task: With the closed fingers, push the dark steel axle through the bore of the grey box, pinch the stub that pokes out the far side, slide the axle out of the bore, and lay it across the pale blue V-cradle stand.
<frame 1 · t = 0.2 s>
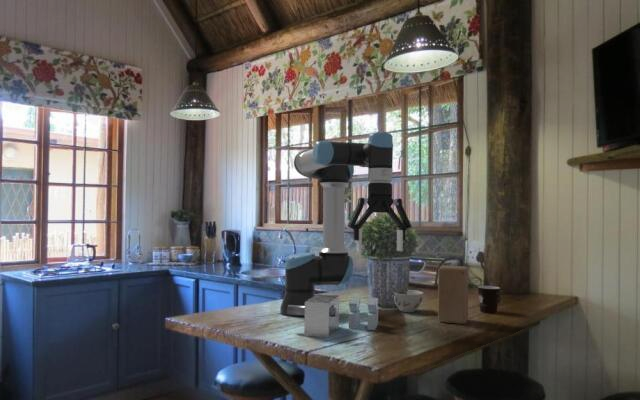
hand: (379, 251, 158), 28 cm above the table, tool pointing down, fingers open, 13 cm apart
v stand: (368, 326, 177), on the table
coffee mug: (489, 313, 206), on the table
wooden block: (453, 321, 189), on the table
teacup: (409, 311, 208), on the table
axle: (311, 315, 168), point 6 cm above the table, touching grey box
grey box: (320, 333, 167), on the table
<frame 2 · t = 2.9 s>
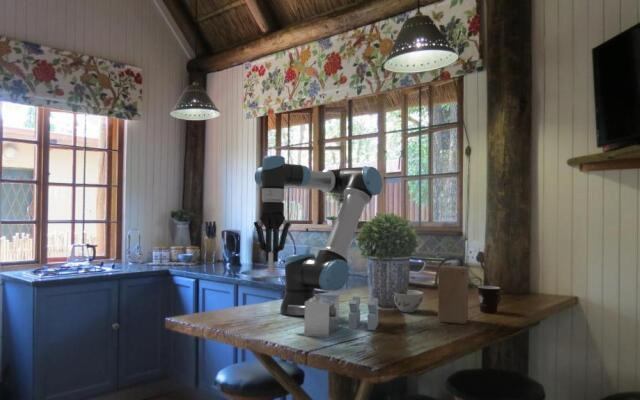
hand: (271, 271, 171), 19 cm above the table, tool pointing down, fingers closed
nothing on the table moved.
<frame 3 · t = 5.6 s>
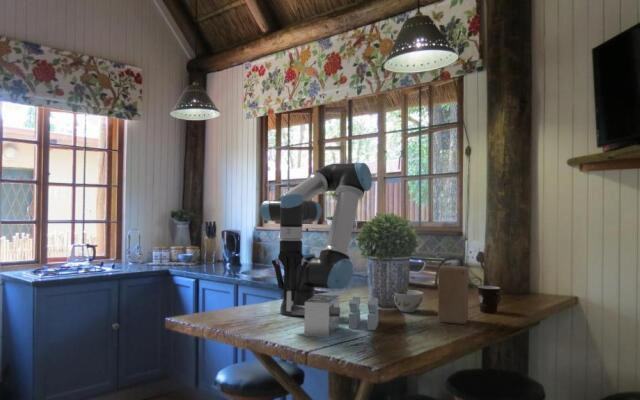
hand: (289, 310, 170), 7 cm above the table, tool pointing down, fingers closed
axle: (315, 315, 167), point 6 cm above the table, tilted 11°, touching gripper
everything else where it was.
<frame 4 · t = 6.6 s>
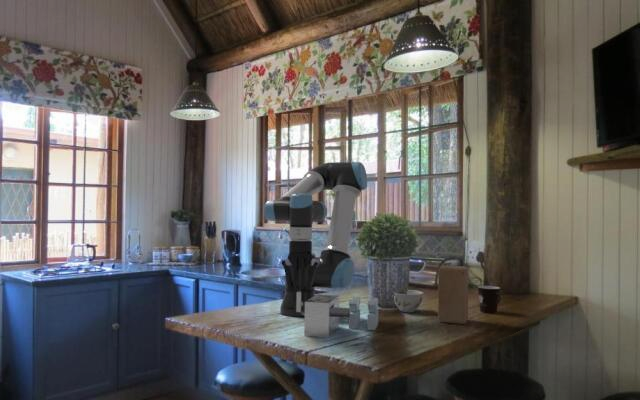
hand: (299, 311, 169), 7 cm above the table, tool pointing down, fingers closed
axle: (325, 316, 167), point 6 cm above the table, tilted 12°, touching gripper
everything else where it was.
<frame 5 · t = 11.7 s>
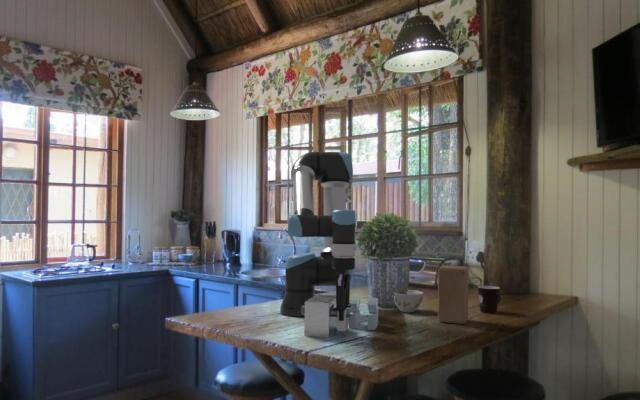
hand: (342, 329, 165), 2 cm above the table, tool pointing down, fingers closed on axle, 3 cm apart
axle: (325, 316, 167), point 6 cm above the table, touching grey box, gripper
everything else where it was.
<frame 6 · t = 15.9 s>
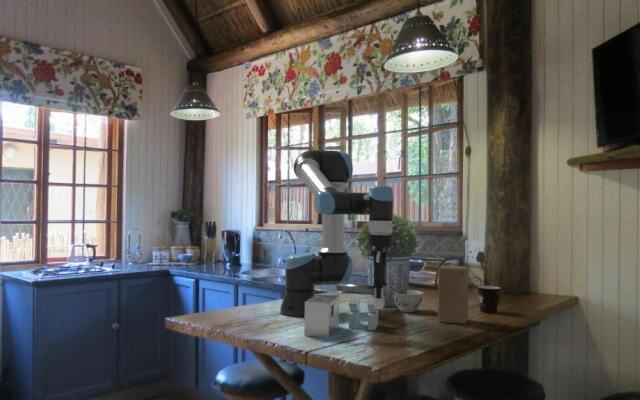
hand: (379, 307, 163), 9 cm above the table, tool pointing down, fingers closed on axle, 3 cm apart
axle: (361, 294, 164), point 13 cm above the table, touching gripper
everything else where it was.
when the fingers open (4 cm above the table, at t = 20.5 s): axle drops 1 cm, resting on v stand.
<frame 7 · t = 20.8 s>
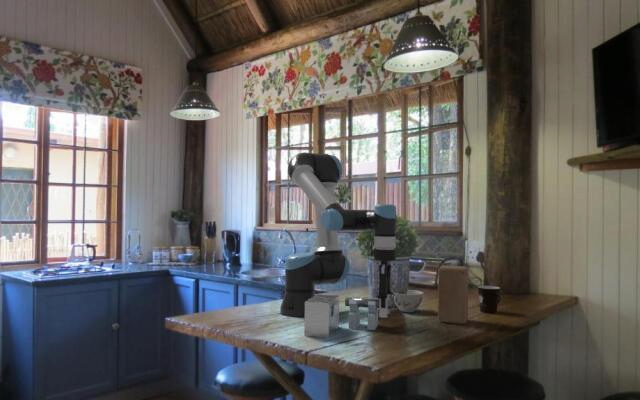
hand: (384, 315, 176), 4 cm above the table, tool pointing down, fingers open, 7 cm apart
axle: (368, 307, 177), point 7 cm above the table, touching v stand
everything else where it was.
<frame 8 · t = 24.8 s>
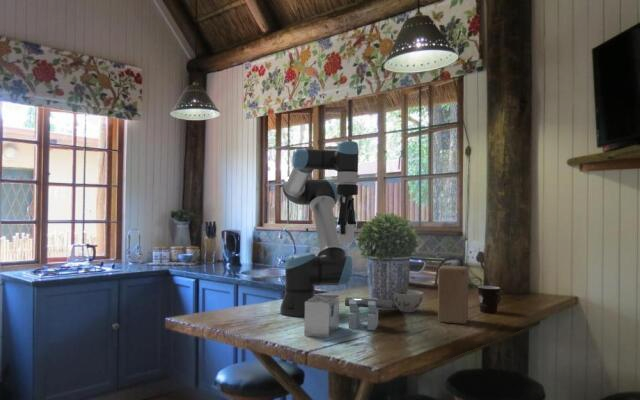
hand: (346, 242, 184), 29 cm above the table, tool pointing down, fingers open, 13 cm apart
nothing on the table moved.
at the end: axle inside the target area on the v stand (0.1 cm from its centre), point 6.7 cm above the v stand's base; axle touching v stand; the gripper is holding nothing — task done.
